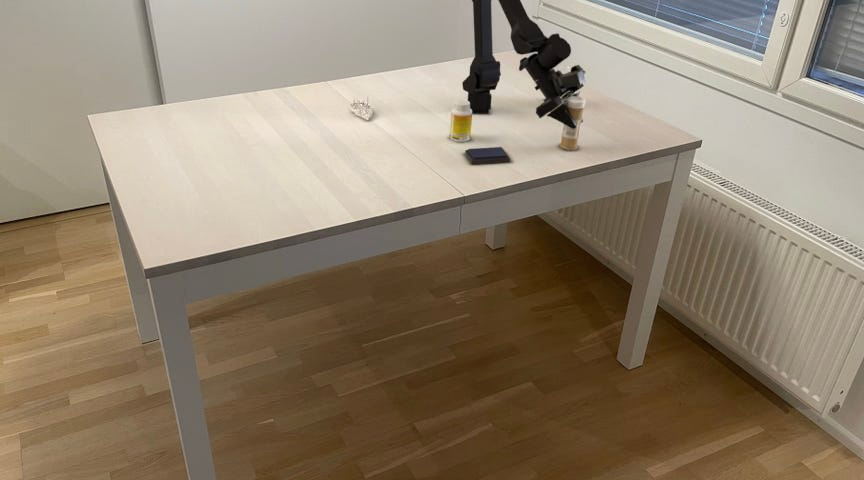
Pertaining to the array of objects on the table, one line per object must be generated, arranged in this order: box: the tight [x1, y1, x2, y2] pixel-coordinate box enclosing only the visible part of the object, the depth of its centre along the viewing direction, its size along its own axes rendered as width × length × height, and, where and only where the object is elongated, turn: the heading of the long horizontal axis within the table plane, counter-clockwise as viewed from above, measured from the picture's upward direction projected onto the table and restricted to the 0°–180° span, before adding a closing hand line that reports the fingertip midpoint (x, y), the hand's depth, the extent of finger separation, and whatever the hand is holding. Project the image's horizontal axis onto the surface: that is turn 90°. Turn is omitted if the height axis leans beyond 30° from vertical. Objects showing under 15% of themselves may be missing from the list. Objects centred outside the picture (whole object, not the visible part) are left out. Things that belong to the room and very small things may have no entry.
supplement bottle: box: [449, 99, 473, 143], centre depth 193 cm, size 6×6×10 cm
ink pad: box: [464, 146, 511, 165], centre depth 185 cm, size 10×6×2 cm, turn 99°
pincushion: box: [348, 97, 374, 120], centre depth 209 cm, size 12×6×6 cm, turn 19°
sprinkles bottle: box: [559, 96, 586, 151], centre depth 188 cm, size 5×5×14 cm
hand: (578, 125), depth 187 cm, fingers closed on sprinkles bottle, 4 cm apart
